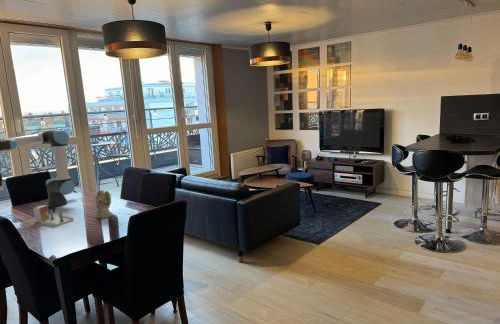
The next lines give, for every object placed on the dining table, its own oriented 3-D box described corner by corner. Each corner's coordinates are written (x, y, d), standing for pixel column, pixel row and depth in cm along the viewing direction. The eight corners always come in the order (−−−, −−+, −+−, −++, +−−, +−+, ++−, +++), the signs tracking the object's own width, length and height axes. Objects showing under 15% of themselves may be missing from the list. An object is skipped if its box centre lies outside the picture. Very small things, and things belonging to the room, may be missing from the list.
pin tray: (59, 217, 258) (58, 207, 257) (73, 220, 249) (71, 209, 247) (40, 223, 247) (38, 212, 245) (54, 226, 237) (52, 215, 236)
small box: (41, 222, 250) (39, 208, 248) (35, 222, 251) (32, 208, 249) (50, 218, 258) (47, 205, 256) (43, 218, 259) (41, 205, 257)
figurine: (96, 220, 246) (92, 193, 242) (95, 216, 256) (91, 190, 253) (113, 217, 251) (110, 190, 248) (112, 213, 261) (108, 187, 258)
